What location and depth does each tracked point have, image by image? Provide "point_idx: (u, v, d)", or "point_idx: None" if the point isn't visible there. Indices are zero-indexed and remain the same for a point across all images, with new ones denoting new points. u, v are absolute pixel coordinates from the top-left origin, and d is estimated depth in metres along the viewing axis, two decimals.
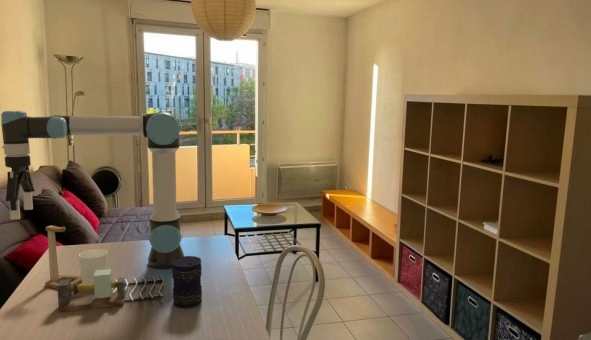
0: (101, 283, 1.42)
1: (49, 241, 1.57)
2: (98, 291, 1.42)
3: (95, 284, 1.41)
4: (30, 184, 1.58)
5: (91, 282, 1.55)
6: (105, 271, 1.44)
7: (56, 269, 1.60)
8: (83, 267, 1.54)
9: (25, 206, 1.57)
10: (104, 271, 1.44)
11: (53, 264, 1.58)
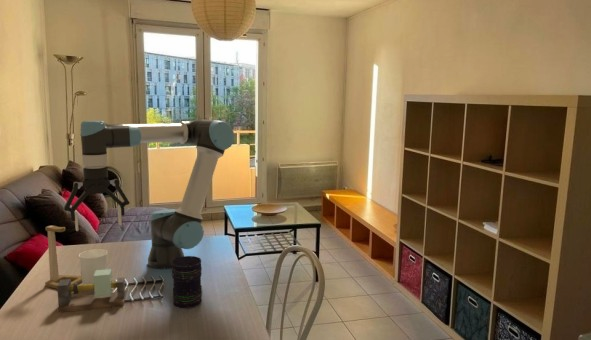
0: (101, 283, 1.42)
1: (49, 241, 1.57)
2: (98, 291, 1.42)
3: (95, 284, 1.41)
4: (123, 199, 1.48)
5: (91, 282, 1.55)
6: (105, 271, 1.44)
7: (56, 269, 1.60)
8: (83, 267, 1.54)
9: (118, 220, 1.50)
10: (104, 271, 1.44)
11: (53, 264, 1.58)
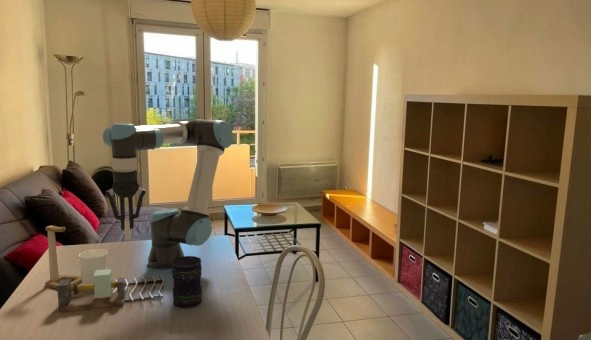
0: (101, 283, 1.42)
1: (49, 241, 1.57)
2: (98, 291, 1.42)
3: (95, 284, 1.41)
4: (136, 210, 1.43)
5: (91, 282, 1.55)
6: (105, 271, 1.44)
7: (56, 269, 1.60)
8: (83, 267, 1.54)
9: None
10: (104, 271, 1.44)
11: (53, 264, 1.58)
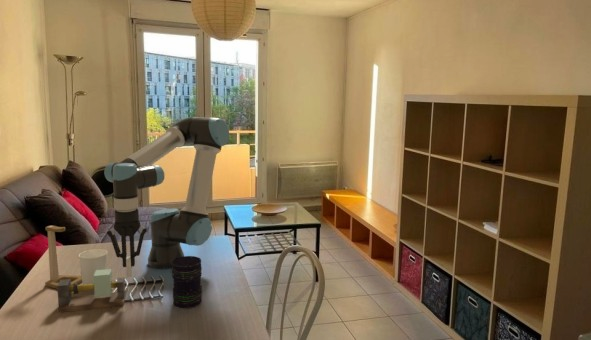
0: (101, 283, 1.42)
1: (49, 241, 1.57)
2: (98, 291, 1.42)
3: (95, 284, 1.41)
4: (137, 248, 1.45)
5: (91, 282, 1.55)
6: (105, 271, 1.44)
7: (56, 269, 1.60)
8: (83, 267, 1.54)
9: None
10: (104, 271, 1.44)
11: (53, 264, 1.58)
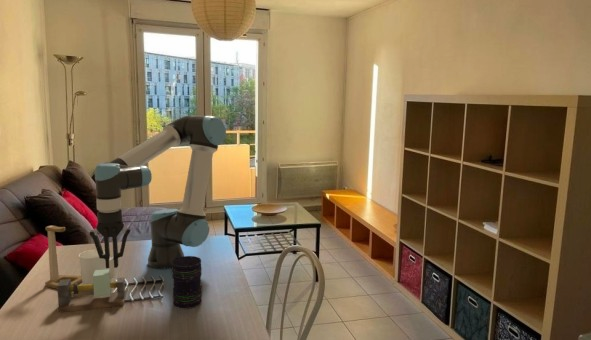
0: (100, 283, 1.42)
1: (49, 241, 1.57)
2: (97, 291, 1.42)
3: (94, 284, 1.41)
4: (120, 249, 1.43)
5: (91, 282, 1.55)
6: (105, 271, 1.44)
7: (56, 269, 1.60)
8: (83, 267, 1.54)
9: None
10: (103, 271, 1.44)
11: (53, 264, 1.58)
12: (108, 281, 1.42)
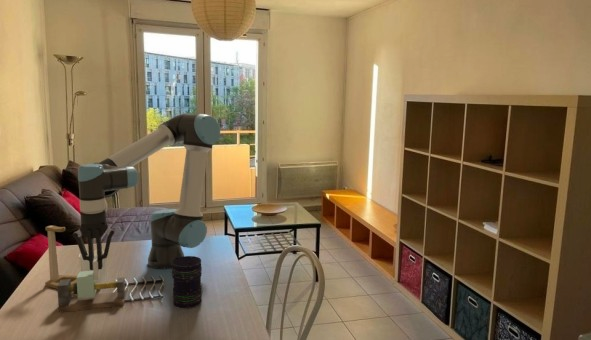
0: (84, 285, 1.40)
1: (49, 241, 1.57)
2: (81, 293, 1.40)
3: (78, 286, 1.40)
4: None
5: None
6: (89, 273, 1.43)
7: (56, 269, 1.60)
8: (83, 267, 1.54)
9: None
10: (87, 272, 1.43)
11: (53, 264, 1.58)
12: (92, 283, 1.41)
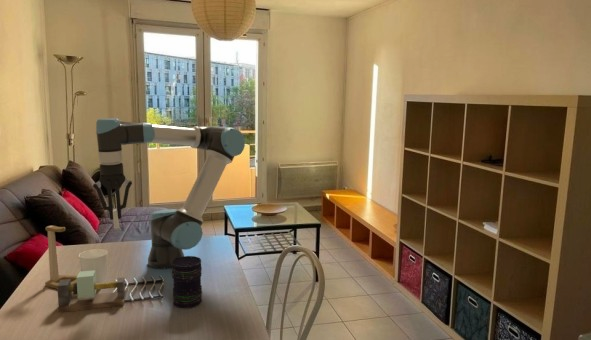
0: (84, 285, 1.40)
1: (49, 241, 1.57)
2: (81, 293, 1.40)
3: (78, 286, 1.40)
4: (123, 201, 1.50)
5: None
6: (89, 273, 1.43)
7: (56, 269, 1.60)
8: (83, 267, 1.54)
9: None
10: (87, 272, 1.43)
11: (53, 264, 1.58)
12: (92, 283, 1.41)
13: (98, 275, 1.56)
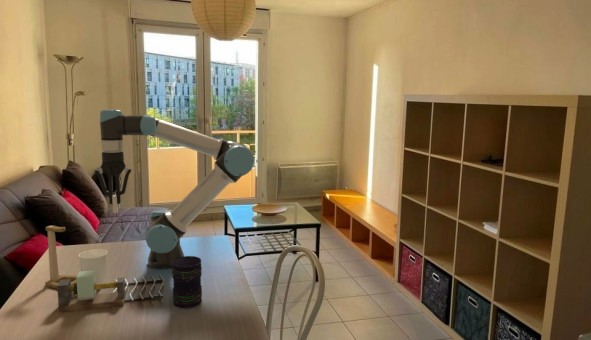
0: (84, 285, 1.40)
1: (49, 241, 1.57)
2: (81, 293, 1.40)
3: (78, 286, 1.40)
4: None
5: None
6: (89, 273, 1.43)
7: (56, 269, 1.60)
8: (83, 267, 1.54)
9: None
10: (87, 272, 1.43)
11: (53, 264, 1.58)
12: (92, 283, 1.41)
13: (98, 275, 1.56)
